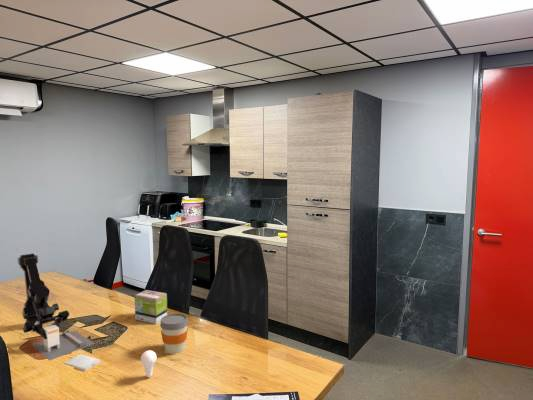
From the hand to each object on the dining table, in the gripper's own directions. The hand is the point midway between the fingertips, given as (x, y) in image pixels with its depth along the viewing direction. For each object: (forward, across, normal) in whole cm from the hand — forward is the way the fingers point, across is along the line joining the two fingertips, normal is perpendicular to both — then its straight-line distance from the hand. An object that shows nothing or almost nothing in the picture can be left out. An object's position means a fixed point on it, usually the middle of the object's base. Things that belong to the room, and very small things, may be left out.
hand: (52, 336), depth 172 cm
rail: (+3, +10, +5) cm, 12 cm away
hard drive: (+21, +4, -10) cm, 24 cm away
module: (+3, 0, +5) cm, 6 cm away
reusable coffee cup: (+35, +37, -26) cm, 57 cm away
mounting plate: (+4, +5, +6) cm, 8 cm away
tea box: (+8, +50, +2) cm, 50 cm away
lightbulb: (+43, +16, -33) cm, 57 cm away
